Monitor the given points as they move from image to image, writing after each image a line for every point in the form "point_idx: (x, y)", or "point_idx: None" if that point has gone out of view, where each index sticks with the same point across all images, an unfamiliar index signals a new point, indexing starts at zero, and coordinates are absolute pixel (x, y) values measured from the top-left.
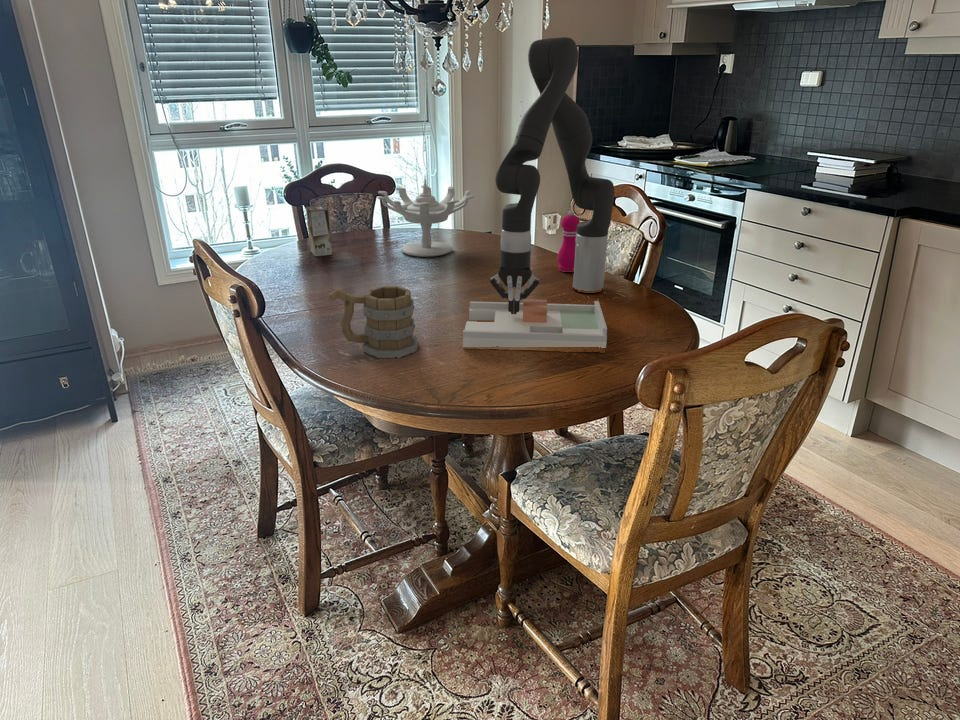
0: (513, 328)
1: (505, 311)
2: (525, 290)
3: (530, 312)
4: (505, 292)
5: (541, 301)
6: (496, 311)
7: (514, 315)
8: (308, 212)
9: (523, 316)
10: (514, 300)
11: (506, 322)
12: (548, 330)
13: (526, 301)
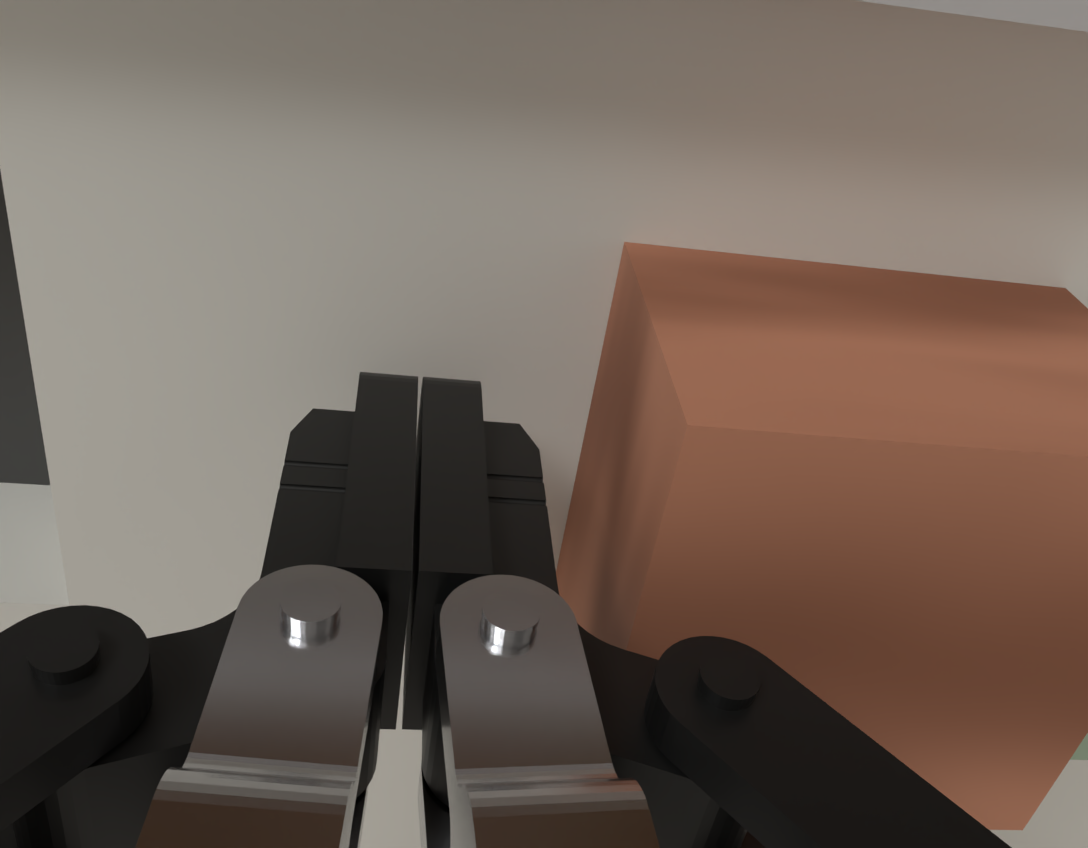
0: (389, 784)
1: (237, 85)
2: (764, 827)
3: None
4: (109, 814)
5: (1084, 555)
6: (10, 82)
7: (437, 327)
8: None
9: None
10: (412, 689)
11: None
12: None
13: (726, 562)
